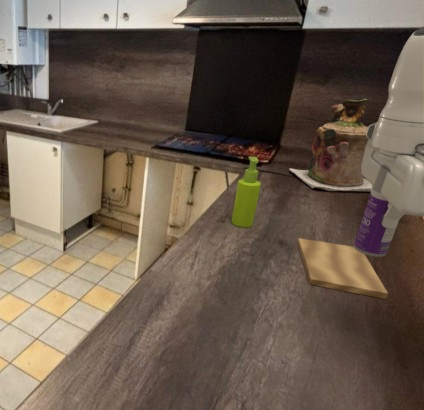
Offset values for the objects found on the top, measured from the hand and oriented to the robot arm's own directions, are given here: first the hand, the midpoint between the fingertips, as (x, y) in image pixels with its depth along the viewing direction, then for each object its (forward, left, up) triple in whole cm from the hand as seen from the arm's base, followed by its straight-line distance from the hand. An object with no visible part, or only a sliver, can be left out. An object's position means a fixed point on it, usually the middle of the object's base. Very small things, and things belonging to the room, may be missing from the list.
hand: (380, 218), depth 61 cm
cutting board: (-3, -20, -22) cm, 30 cm away
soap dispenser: (+18, -38, -22) cm, 48 cm away
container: (0, 0, -6) cm, 6 cm away
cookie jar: (-15, -90, -22) cm, 94 cm away
